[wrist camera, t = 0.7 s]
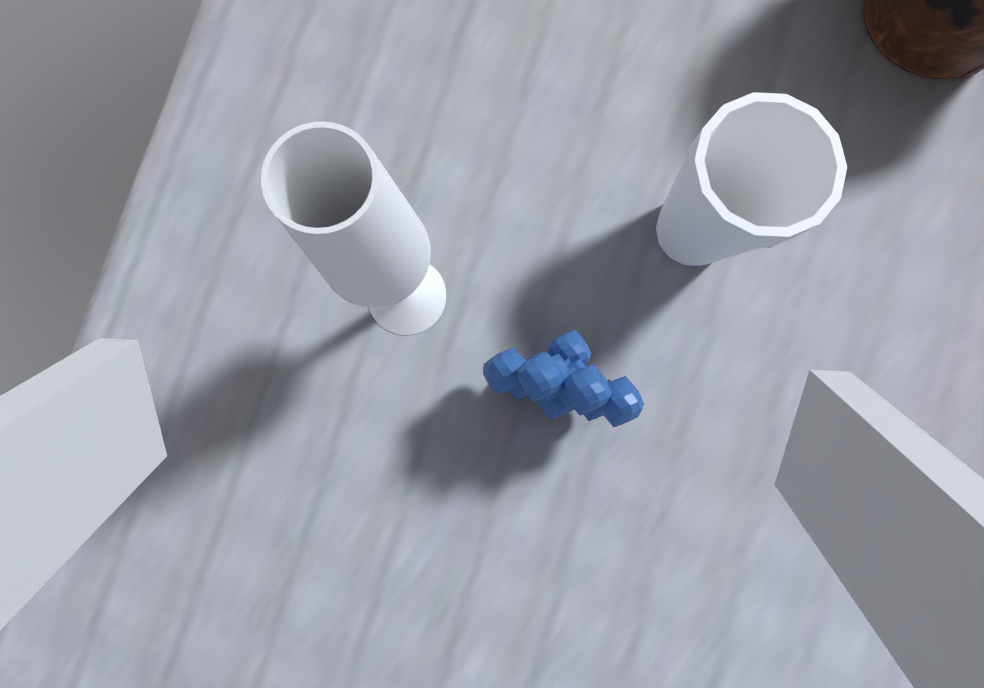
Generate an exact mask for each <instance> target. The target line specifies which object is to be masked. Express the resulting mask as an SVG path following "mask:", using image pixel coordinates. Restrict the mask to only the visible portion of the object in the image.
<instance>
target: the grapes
mask: <svg viewBox="0 0 984 688" xmlns="http://www.w3.org/2000/svg"><path fill="white" fill-rule="evenodd" d="M548 351H549V354H548V353H544V352H541V353H538V354H536V355H533V356H532V357H530V358H529V359H528V360H526V359H525V358H524V357H523V358H522V357H521V356H520V354H519V353H518V352H517V351H516V349H515V348H511V349H508V350H506V351H503V352H501V353H498V354H497V355H495V356H494V357H492V358H491V359H490V360H488V361H487V362H486V363H485V364H484V367H483V375H484V376H485V378H486V380H487V382H488V383H489V385H490V386H491V388H492V389H493V390H494V392H495V393H496V394H497V393H499V392H500V394H501V393H504V392H507V391H510V392H511V394H512V395H513V396H514V398H515V399H516V400H519V399H522V398H525V397H529V398H530V399H531V400H532V402H535V401H538V403H539V405H540V407H541V408H542V409H543V411H544V412H545V413H546V415H547V416H548V417H549V418H550V420H552V419H555V418H558V417H561V416H563V415H565V414H567V413H569V412H571V411H573V410H574V409H575V410H576V412H577V413H578V414H579V415H582V414H583V415H584V416H585V417H586V418H587V420H588V421H590V420H593V419H596V418H598V417H601V416H603V415H604V416H605V417H606V419H607V420H608V421H609V422H610V423H611V425H612V426H613V427H616V426H619V425H622V424H625V423H627V422H629V421H631V420H633V419H635V418H637V417H638V416H639V414H640V412H641V411H642V409H643V405H644V403H643V400H642V398H641V395H640V393H639V391H638V390H637V389H636V388H635V386H634V385H633V384H632V383H631V382H630V381H629V380H628V378H627V377H626V376H624V377H621V378H618V379H616V380H613V381H610V380H606V378H605V377H604V376H603V375H602V374H601V372H600V371H599V370H598V369H597V368H596V366H595V365H594V364H593V365H590V366H588V365H587V362H588V361H589V360H590V357H591V352H590V349H589V347H588V344H587V342H586V341H585V340H584V339H583V338H582V336H581V335H580V334H579V333H578V332H577V331H576V330H574V331H571V332H569V333H566V334H564V335H561V336H559V337H558V338H556V339H555V340H554V341H552V342H551V343H550V345H549V349H548Z"/></svg>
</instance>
